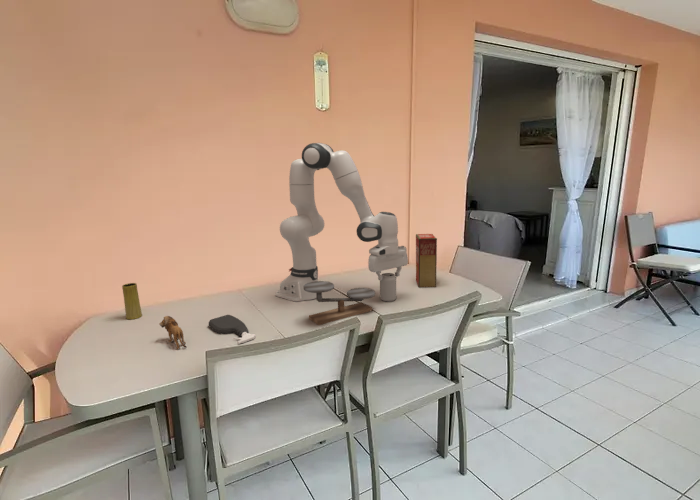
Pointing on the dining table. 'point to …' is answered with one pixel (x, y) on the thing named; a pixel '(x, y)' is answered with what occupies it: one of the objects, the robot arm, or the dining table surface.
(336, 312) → the scale
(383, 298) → the can
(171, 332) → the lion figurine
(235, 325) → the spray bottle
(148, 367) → the dining table surface
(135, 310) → the vase
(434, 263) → the food packaging
